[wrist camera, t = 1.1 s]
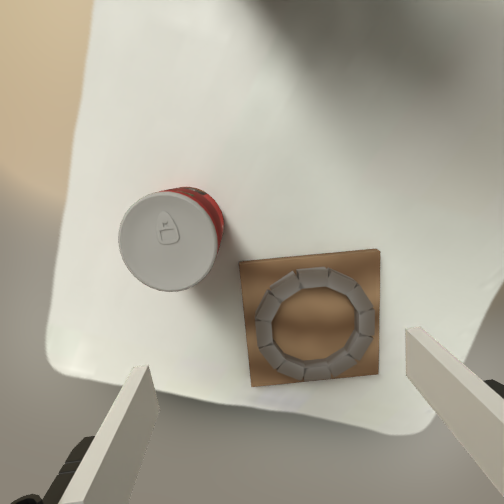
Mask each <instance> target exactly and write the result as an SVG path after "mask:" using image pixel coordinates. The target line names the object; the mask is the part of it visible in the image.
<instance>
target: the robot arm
mask: <svg viewBox="0 0 504 504" xmlns="http://www.w3.org/2000/svg"><path fill="white" fill-rule="evenodd" d="M405 341H406V376H407V377H408V379H409V380H410V381H411V382H412V384H413V385H414V386H415V387H416V389H417V390H418V391H419V392H420V394H421V395H422V396H423V397H424V399H425V400H426V401H427V402H428V404H429V405H430V406H431V407H432V408H433V410H434V411H435V412H436V413H437V415H438V416H439V417H440V418H441V419H442V421H443V422H444V423H445V425H446V426H447V427H448V428H449V430H450V431H451V432H452V433H453V435H454V436H455V437H456V438H457V440H458V441H459V442H460V443H461V445H462V446H463V447H464V448H465V450H466V451H467V452H468V453H469V455H470V456H471V457H472V458H473V460H474V461H475V462H476V463H477V465H478V466H479V467H480V468H481V470H482V471H483V472H484V473H485V475H486V476H487V477H488V478H489V480H490V481H491V482H492V483H493V485H494V486H495V487H496V488H497V490H498V491H499V492H500V493H501V494H502V496H503V497H504V385H502V384H500V383H498V382H497V381H495V380H486V381H482V380H481V379H480V378H479V377H478V376H477V375H475V374H474V373H473V372H472V371H471V370H470V369H469V368H467V367H466V366H465V365H464V364H463V363H462V362H460V361H459V360H458V359H457V358H456V357H455V356H454V355H452V354H451V353H450V352H449V351H448V350H447V349H446V348H444V347H443V346H442V345H441V344H440V343H439V342H438V341H436V340H435V339H434V338H433V337H432V336H431V335H430V334H428V333H427V332H426V331H425V330H424V329H423V328H422V327H413V328H406V329H405ZM159 411H160V407H159V404H158V400H157V396H156V392H155V388H154V384H153V381H152V377H151V373H150V369H149V365H144V366H137V367H133V369H132V371H131V372H130V374H129V376H128V378H127V380H126V381H125V383H124V385H123V387H122V389H121V391H120V392H119V394H118V396H117V398H116V400H115V401H114V403H113V405H112V407H111V409H110V410H109V412H108V414H107V416H106V418H105V420H104V421H103V423H102V425H101V427H100V429H99V430H98V433H97V434H96V436H91V437H85V438H84V439H83V440H82V441H81V442H80V443H79V444H78V445H77V446H76V447H75V448H74V449H73V450H72V452H71V453H70V455H69V457H68V458H67V460H66V462H65V464H64V465H63V467H62V468H61V470H60V471H59V475H57V477H56V478H55V480H54V481H53V483H52V485H51V486H50V488H49V490H48V491H47V493H46V495H45V496H44V498H43V499H41V498H40V496H39V495H35V494H30V495H26V496H23V497H21V498H19V499H17V500H15V501H13V502H12V503H11V504H128V502H129V499H130V496H131V493H132V490H133V487H134V485H135V481H136V479H137V476H138V473H139V470H140V467H141V464H142V461H143V458H144V455H145V452H146V449H147V446H148V444H149V441H150V437H151V435H152V432H153V429H154V426H155V423H156V420H157V417H158V414H159Z"/></svg>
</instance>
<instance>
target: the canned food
mask: <svg viewBox="0 0 504 504" xmlns="http://www.w3.org/2000/svg"><path fill="white" fill-rule="evenodd" d="M223 229H224V222H223V216H222V212H221V210H220V208H219V206H218V204H217V203H216V202H215V200H214V199H213V198H212V197H211V196H210V195H209V194H207V193H205V192H204V191H202V190H199V189H197V188H192V187H180V188H175V189H169V190H164V191H159V192H156V193H152V194H149V195H147V196H145V197H143V198H141V199H139V200H138V201H137V202H136V203H134V204H133V205H132V206H131V207H130V208H129V210H128V211H127V212H126V213H125V215H124V217H123V219H122V221H121V225H120V229H119V237H118V243H119V249H120V253H121V256H122V259H123V261H124V263H125V265H126V266H127V268H128V270H129V271H130V272H131V273H132V274H133V275H134V277H136V278H137V279H138V280H139V281H141V282H142V283H143V284H145V285H147V286H149V287H151V288H154V289H156V290H159V291H166V292H176V291H182V290H186V289H188V288H190V287H193V286H195V285H196V284H197V283H199V282H200V281H201V280H203V278H204V277H205V276H206V275H207V274H208V273H209V271H210V270H211V268H212V266H213V264H214V262H215V259H216V256H217V253H218V250H219V246H220V242H221V239H222V235H223Z"/></svg>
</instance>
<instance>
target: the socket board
mask: <svg viewBox="0 0 504 504" xmlns="http://www.w3.org/2000/svg"><path fill="white" fill-rule="evenodd" d="M239 269H240V279H241V289H242V298H243V308H244V318H245V328H246V338H247V347H248V357H249V367H250V377H251V386H252V387H257V386H266V385H276V384H286V383H296V382H306V381H316V380H326V379H336V378H346V377H356V376H366V375H376V374H378V368H379V304H380V251H379V250H377V249H367V250H356V251H346V252H335V253H325V254H314V255H304V256H293V257H282V258H272V259H261V260H251V261H240V262H239Z"/></svg>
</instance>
